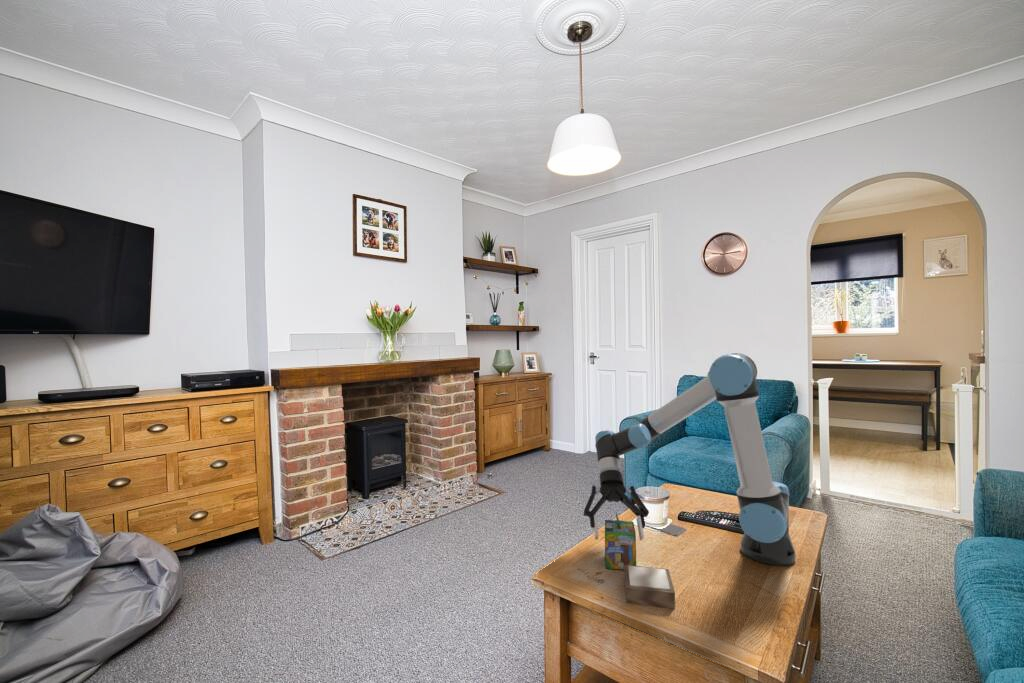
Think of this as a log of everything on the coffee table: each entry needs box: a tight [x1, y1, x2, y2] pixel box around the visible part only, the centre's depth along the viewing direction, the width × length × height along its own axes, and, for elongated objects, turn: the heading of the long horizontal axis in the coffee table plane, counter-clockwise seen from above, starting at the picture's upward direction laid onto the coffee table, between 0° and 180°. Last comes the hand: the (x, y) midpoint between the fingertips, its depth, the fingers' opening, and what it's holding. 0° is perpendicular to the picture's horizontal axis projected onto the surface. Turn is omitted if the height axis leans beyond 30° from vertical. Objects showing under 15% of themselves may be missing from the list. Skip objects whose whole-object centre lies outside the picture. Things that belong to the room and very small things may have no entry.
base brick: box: [624, 565, 676, 609], centre depth 121 cm, size 12×12×4 cm
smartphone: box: [658, 523, 687, 537], centre depth 164 cm, size 7×1×15 cm
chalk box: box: [604, 512, 637, 571], centre depth 137 cm, size 9×9×15 cm
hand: (619, 538), depth 137 cm, fingers open, 13 cm apart
